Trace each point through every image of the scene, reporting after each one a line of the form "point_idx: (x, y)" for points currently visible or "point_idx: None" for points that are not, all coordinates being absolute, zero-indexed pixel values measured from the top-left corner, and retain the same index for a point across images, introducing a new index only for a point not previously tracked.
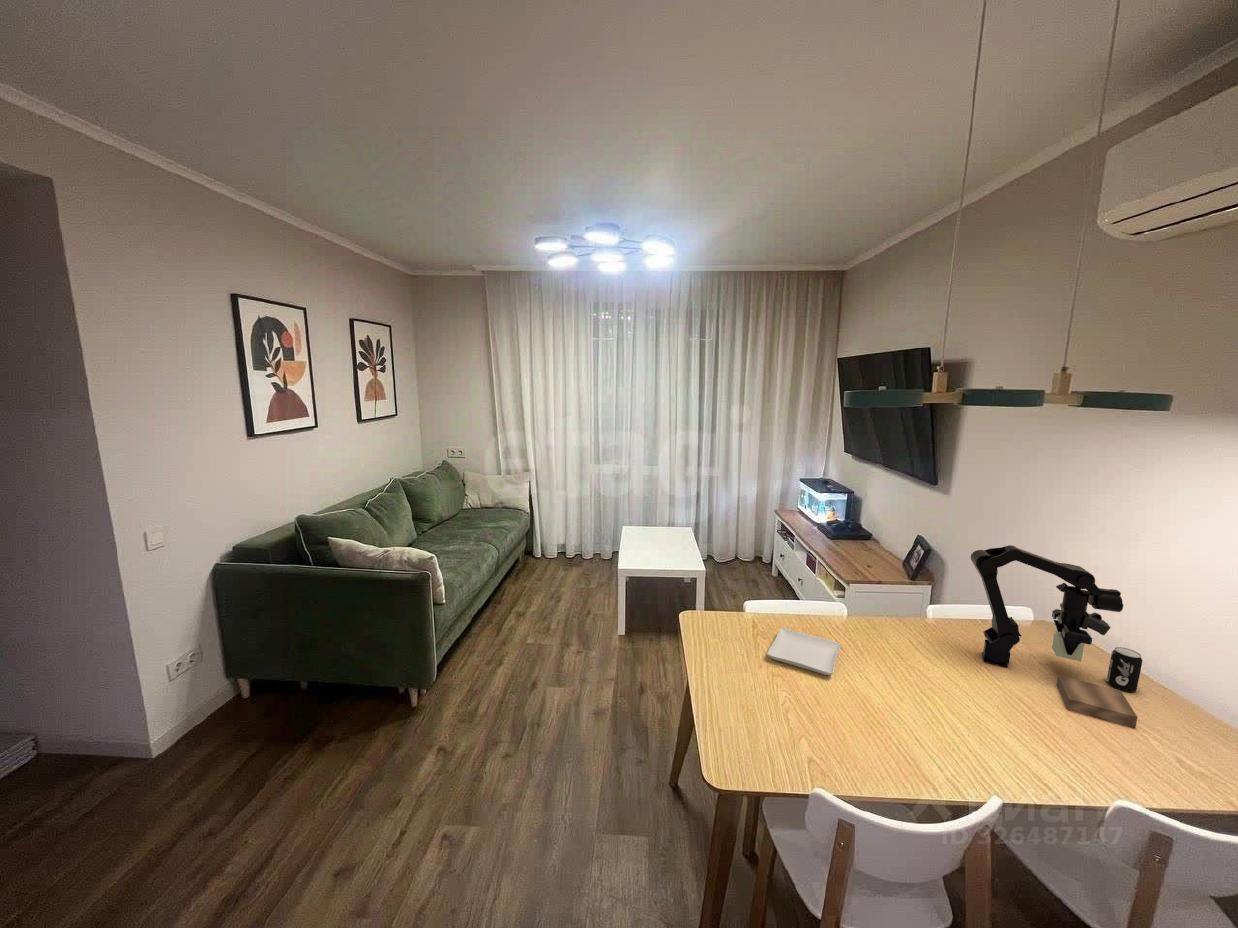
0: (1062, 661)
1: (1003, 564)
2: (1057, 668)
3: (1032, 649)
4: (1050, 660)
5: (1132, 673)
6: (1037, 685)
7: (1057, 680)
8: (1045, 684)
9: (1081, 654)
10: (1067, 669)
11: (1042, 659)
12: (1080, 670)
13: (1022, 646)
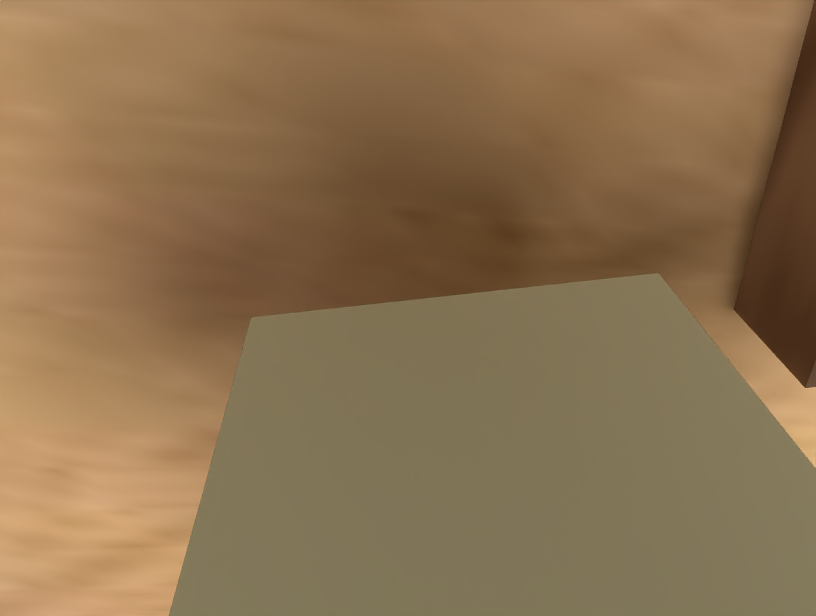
0: (61, 235)
1: None
2: (326, 287)
3: (26, 451)
4: (160, 334)
5: None
6: (812, 420)
7: (774, 341)
8: (769, 377)
9: (745, 396)
10: (266, 202)
11: (207, 389)
12: (157, 63)
13: (43, 507)
